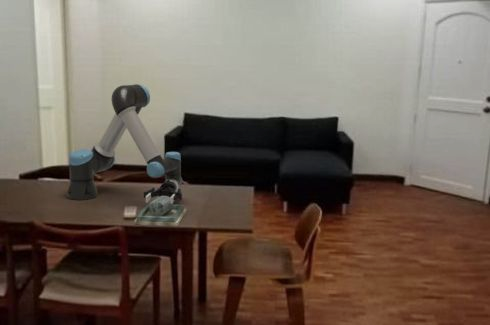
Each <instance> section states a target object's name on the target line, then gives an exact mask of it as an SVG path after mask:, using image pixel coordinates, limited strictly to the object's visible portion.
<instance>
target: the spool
mask: <svg viewBox="0 0 490 325" xmlns="http://www.w3.org/2000/svg"><path fill="white" fill-rule="evenodd" d="M170 198H171V197H168V196H157V197H155V199H153V200H151V202H150V203H148V204H149V210H150V213H151V214H152V215H153V216H159V217H161V216H162V215H164V214H166V213H168V212H170V211H172V209H173V207H174V205H175V204H174V202H173V203H172V204H170Z"/></svg>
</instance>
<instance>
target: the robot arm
mask: <svg viewBox="0 0 490 325" xmlns="http://www.w3.org/2000/svg"><path fill="white" fill-rule="evenodd" d="M150 101H151V95H150V91H149V90H148V88H147V87H146V86H144V85H143V84H138V83H135V84H126V85H125V84H123V85H120V86H117V87H116V88H115V89H114V90H113V92H112V95H111V105H112V109H113V110H114V113H115V114H114V115H113V117H112V119H111V120H110V122H109V124H108V126H107V128H106V130H105V131H104V133H103V135H102V137H101V139H100V140H99V141H98V142H96V143H95V144H93V146H92V148H91V149H85V148H84V149H78V150H77V149H76V150H74V151H72V152H71V153H70V154H69V156H68V165H69V166H68V168H69V170H68V171H69V184H68V188H67V192H66V198H67V199H70V200H74V201H75V200H76V201H79V200H83V201H84V200H92V199H94V198H97V197H98V196H99V194H98V193H99V192H98V188H97V186H96V184H95V182H94V180H95V179H94V174H95V173H100V172H104V171H107V170H109V169H111V168H112V167H113V166H114V164H115V162H116V158H115V155H116V151H115V149H117V148H116V147H117V146H118V144H119V142H120V140H121V139H122V137H123V135H124V134H125V132H126V130H127V131H128V132H129V134H130V136H131V138H132V140H133V141H134V144H135V145H136V146H137V149H138V150H139V153H141V155H142V157H143V159H144V161H145V162H146V165H147V166H146V172H147V175H148V176H149V177H151V178H153V179H154V178H155V179H156V178H160V177H163V176H164V175H165V181H164V182H162V184H161V185H160V187H159V188H157V189H156V187H152V188H151V189H150V188H149V189H148V190H146V191H143V198H144V199H145V203H147V204H149V201H150V200H151V199H152V198H157V197H161V196H168V197H170V204H172V203H174V202H175V201H177V200H182V199H183V192H182V189H181V187H182V184H183V178H182V174H181V173H182V171H181V170H182V169H181V168H182V166H181V165H182V164H181V163H182V160H181V159H182V158H181V157H182V156H181V153H180V152H178V151H167V152H165V154H164V155H165V156H164V158H163V157H162V155H161V154H160V152H159V150H158V148H157V147H156V145H155V143H154V141H153V140H152V138H151V136H150V135H149V133H148V131H147V129H146V128H145V125H144V124H143V122H142V120H141V118H140V117H139V114H140V112H141V110H142V108H145V107H147V106H148V105H149V103H150Z"/></svg>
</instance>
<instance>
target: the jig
mask: <svg viewBox="0 0 490 325" xmlns="http://www.w3.org/2000/svg"><path fill="white" fill-rule="evenodd" d="M149 204H150V203H147V204H146V205H145V206H144V208H142V210H141V211H140V212H139V213H138V214H137V216H136V219H134V221H133V225H134V224H138V226H139V225H140V226H160V227H161V226H162V227H178V226H179V225H180V223H181V221H182V219H183V218H184V216H185V214H186V213H187V208H185V205H184V204H174V207H173V209H172V211H170V212H168V213H166V214H164V215H162V216H161V217H159V216H153V215H152V214H151V213H150V210H149Z"/></svg>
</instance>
